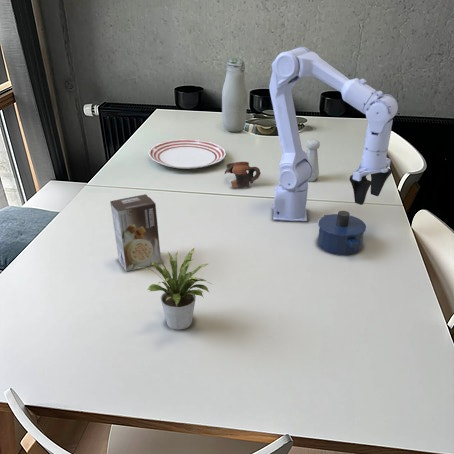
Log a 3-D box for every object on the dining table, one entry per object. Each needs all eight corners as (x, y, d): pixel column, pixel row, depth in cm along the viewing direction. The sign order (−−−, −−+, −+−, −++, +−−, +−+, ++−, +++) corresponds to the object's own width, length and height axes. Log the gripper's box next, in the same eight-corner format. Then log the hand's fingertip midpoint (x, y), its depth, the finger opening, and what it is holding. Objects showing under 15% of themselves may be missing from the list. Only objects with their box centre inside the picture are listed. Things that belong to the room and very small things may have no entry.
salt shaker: (317, 183, 170) (321, 144, 162) (300, 181, 171) (303, 142, 163) (318, 176, 174) (322, 138, 167) (301, 175, 175) (305, 137, 168)
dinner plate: (239, 156, 190) (240, 147, 188) (196, 180, 171) (196, 171, 169) (179, 142, 202) (179, 134, 200) (133, 164, 183) (132, 154, 181)
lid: (329, 241, 127) (331, 226, 125) (311, 220, 137) (312, 205, 134) (374, 236, 130) (376, 221, 127) (352, 215, 139) (354, 201, 137)
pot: (332, 263, 128) (335, 243, 125) (307, 232, 141) (309, 214, 138) (373, 257, 130) (377, 238, 127) (345, 227, 144) (347, 210, 141)
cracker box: (152, 251, 132) (147, 193, 123) (161, 263, 127) (157, 203, 118) (117, 260, 128) (109, 200, 119) (125, 272, 124) (118, 211, 115)
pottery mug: (222, 189, 166) (219, 163, 165) (232, 191, 175) (229, 167, 174) (258, 184, 162) (255, 157, 161) (266, 187, 171) (264, 161, 170)
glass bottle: (220, 134, 212) (220, 60, 196) (224, 126, 220) (225, 55, 204) (244, 135, 210) (246, 61, 195) (247, 128, 219) (249, 56, 203)
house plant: (150, 354, 99) (144, 283, 90) (132, 314, 110) (124, 247, 101) (219, 336, 104) (219, 266, 95) (195, 299, 115) (193, 233, 105)
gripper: (374, 159, 121) (365, 212, 128) (405, 145, 129) (394, 195, 137) (348, 152, 125) (341, 203, 132) (380, 138, 133) (371, 188, 141)
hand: (366, 199), depth 135 cm, fingers open, 7 cm apart
